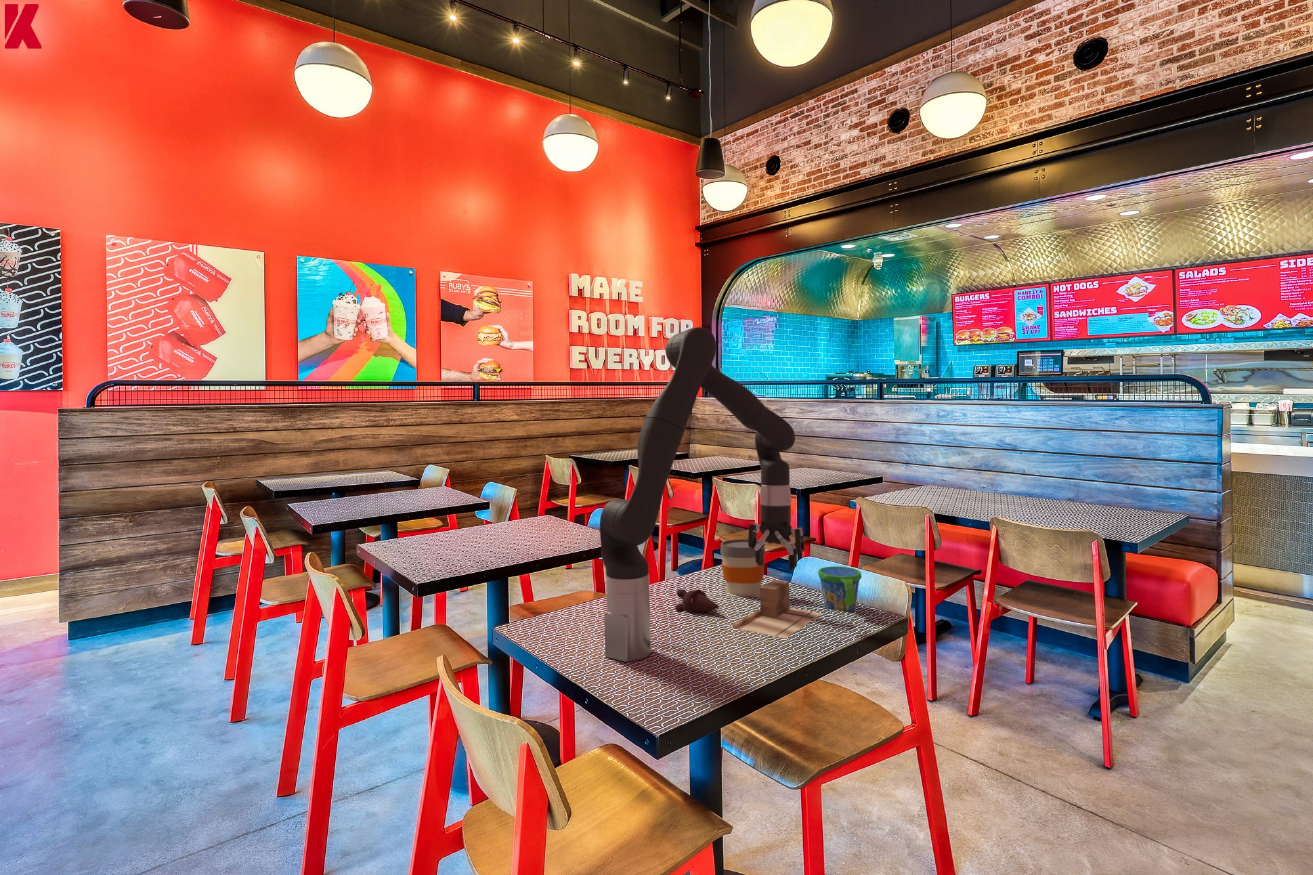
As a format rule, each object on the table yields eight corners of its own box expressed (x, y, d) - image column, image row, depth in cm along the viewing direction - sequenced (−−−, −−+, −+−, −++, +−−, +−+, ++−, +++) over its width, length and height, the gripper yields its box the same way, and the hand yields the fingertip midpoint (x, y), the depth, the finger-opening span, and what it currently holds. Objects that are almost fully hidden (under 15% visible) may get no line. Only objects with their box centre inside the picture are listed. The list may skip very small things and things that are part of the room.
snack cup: (869, 619, 155) (868, 578, 155) (825, 619, 156) (825, 578, 155) (853, 601, 170) (852, 563, 170) (813, 601, 171) (813, 564, 171)
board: (785, 645, 139) (785, 634, 139) (730, 633, 147) (729, 623, 147) (822, 619, 156) (822, 610, 156) (770, 610, 164) (770, 601, 164)
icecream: (729, 593, 158) (688, 587, 170) (709, 591, 154) (667, 585, 165) (727, 621, 157) (685, 613, 168) (706, 620, 152) (665, 612, 164)
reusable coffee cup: (722, 603, 171) (721, 548, 171) (719, 590, 184) (718, 539, 183) (769, 602, 171) (768, 547, 170) (763, 589, 184) (762, 538, 183)
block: (775, 618, 153) (774, 589, 153) (760, 615, 155) (759, 587, 155) (791, 607, 160) (790, 580, 160) (777, 605, 163) (776, 578, 162)
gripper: (742, 502, 159) (743, 566, 159) (795, 506, 150) (796, 574, 150) (756, 499, 165) (757, 561, 165) (808, 502, 156) (809, 568, 156)
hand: (775, 567), depth 158 cm, fingers open, 8 cm apart
